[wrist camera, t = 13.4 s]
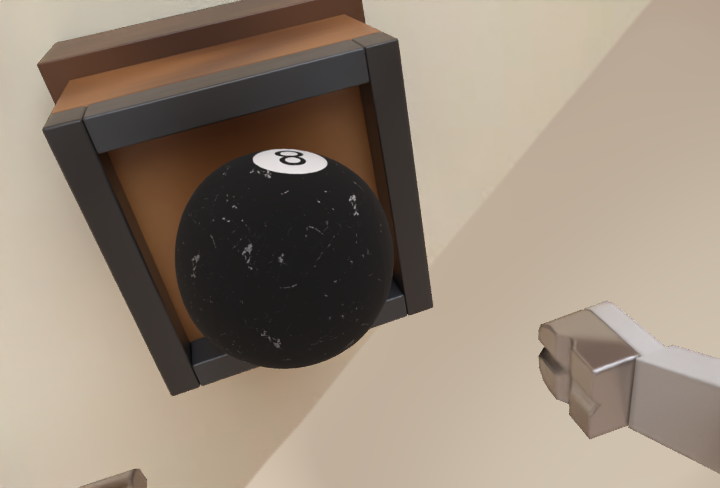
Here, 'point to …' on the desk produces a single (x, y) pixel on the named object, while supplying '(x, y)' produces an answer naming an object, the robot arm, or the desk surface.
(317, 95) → the brown wooden box
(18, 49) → the desk surface
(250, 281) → the billiard ball
